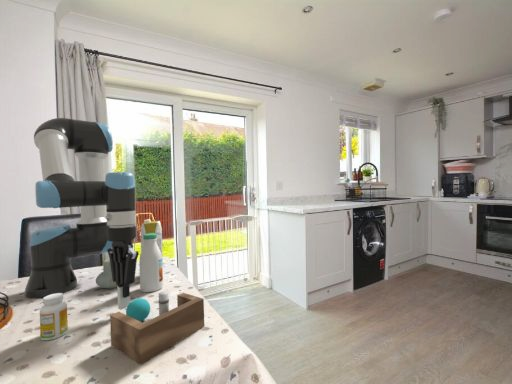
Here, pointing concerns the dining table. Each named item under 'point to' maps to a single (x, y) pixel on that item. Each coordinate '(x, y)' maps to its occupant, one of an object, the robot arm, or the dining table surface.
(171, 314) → the walnut backstop
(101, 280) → the air freshener
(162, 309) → the grey pin
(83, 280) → the dining table surface
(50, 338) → the supplement bottle
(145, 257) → the milk bottle
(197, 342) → the dining table surface
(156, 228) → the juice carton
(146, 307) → the ball
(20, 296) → the dining table surface
